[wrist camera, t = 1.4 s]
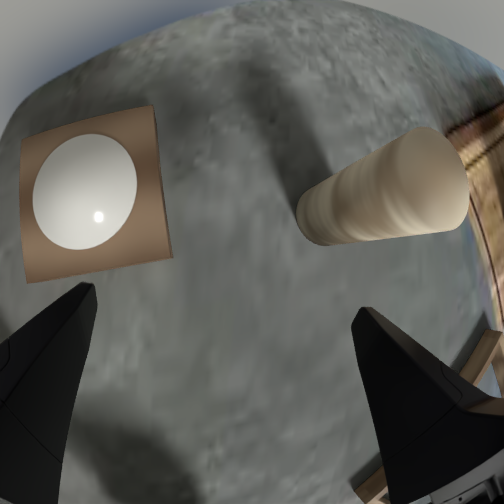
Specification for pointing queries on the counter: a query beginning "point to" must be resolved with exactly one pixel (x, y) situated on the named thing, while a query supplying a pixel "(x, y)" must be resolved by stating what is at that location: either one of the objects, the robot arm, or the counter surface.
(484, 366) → the oak tray rim
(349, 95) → the counter surface
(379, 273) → the counter surface
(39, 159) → the walnut plinth
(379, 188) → the birch pillar
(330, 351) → the counter surface
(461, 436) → the robot arm
